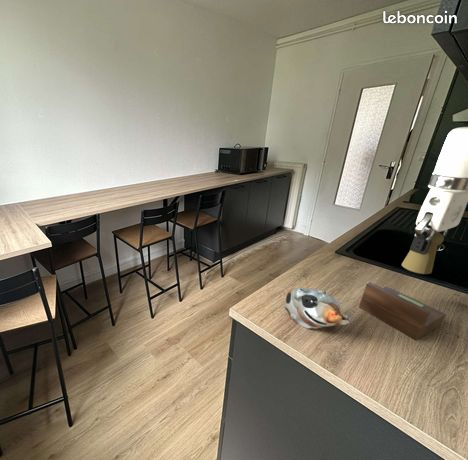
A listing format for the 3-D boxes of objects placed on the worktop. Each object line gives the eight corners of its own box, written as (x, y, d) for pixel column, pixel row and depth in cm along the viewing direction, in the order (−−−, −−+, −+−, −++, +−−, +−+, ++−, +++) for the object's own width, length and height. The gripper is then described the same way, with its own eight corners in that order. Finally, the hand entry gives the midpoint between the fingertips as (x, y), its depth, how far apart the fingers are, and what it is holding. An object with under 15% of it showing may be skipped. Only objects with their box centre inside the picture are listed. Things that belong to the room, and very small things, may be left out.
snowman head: (342, 315, 74) (368, 296, 63) (325, 348, 69) (349, 334, 58) (293, 284, 81) (308, 263, 70) (274, 313, 76) (287, 294, 65)
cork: (399, 260, 73) (412, 225, 69) (427, 265, 70) (443, 229, 66) (404, 270, 68) (418, 233, 64) (434, 276, 65) (452, 238, 61)
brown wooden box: (382, 296, 81) (391, 272, 77) (440, 325, 69) (454, 299, 65) (358, 307, 77) (366, 282, 73) (415, 340, 65) (428, 313, 61)
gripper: (455, 191, 54) (423, 264, 61) (493, 181, 59) (460, 248, 67) (411, 184, 60) (388, 250, 67) (450, 175, 66) (424, 238, 73)
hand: (424, 249), depth 67 cm, fingers closed on cork, 5 cm apart
